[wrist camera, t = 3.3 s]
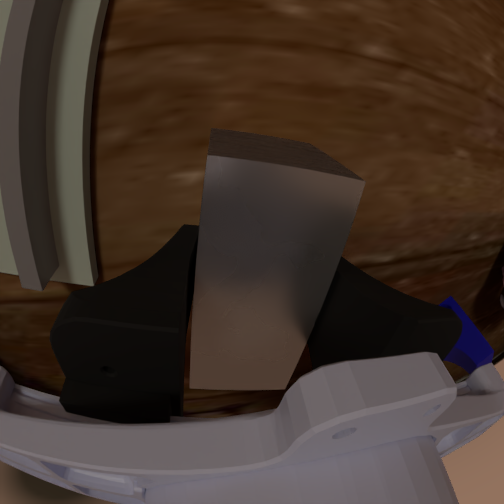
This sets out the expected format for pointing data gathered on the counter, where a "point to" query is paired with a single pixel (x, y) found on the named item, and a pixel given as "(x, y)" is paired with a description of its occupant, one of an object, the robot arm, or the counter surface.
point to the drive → (264, 256)
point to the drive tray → (47, 139)
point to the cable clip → (468, 342)
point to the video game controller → (502, 300)
